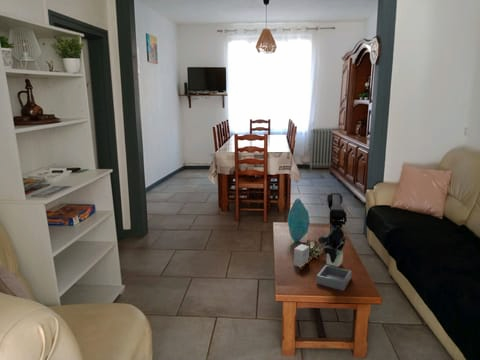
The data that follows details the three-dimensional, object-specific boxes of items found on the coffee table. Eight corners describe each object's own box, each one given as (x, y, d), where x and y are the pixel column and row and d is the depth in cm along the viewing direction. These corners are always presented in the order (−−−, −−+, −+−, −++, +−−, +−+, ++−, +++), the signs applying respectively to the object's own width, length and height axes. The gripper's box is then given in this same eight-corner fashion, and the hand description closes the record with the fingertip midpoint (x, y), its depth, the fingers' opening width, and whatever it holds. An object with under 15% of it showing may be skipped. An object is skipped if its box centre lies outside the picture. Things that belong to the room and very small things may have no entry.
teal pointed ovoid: (309, 245, 231) (311, 201, 224) (288, 245, 231) (289, 201, 224) (306, 237, 243) (308, 195, 235) (286, 238, 243) (287, 195, 236)
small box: (300, 260, 212) (301, 243, 209) (309, 262, 208) (309, 246, 205) (293, 265, 206) (294, 248, 203) (302, 268, 202) (302, 251, 200)
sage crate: (330, 258, 190) (330, 248, 188) (342, 261, 187) (343, 251, 185) (326, 263, 185) (326, 253, 183) (338, 266, 181) (339, 256, 180)
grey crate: (325, 271, 197) (325, 264, 196) (350, 278, 190) (351, 270, 189) (316, 283, 186) (316, 275, 185) (343, 290, 179) (343, 282, 178)
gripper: (326, 223, 193) (325, 249, 197) (314, 235, 178) (313, 263, 182) (347, 227, 188) (345, 254, 191) (336, 239, 172) (334, 269, 176)
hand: (334, 260), depth 185 cm, fingers closed on sage crate, 6 cm apart
